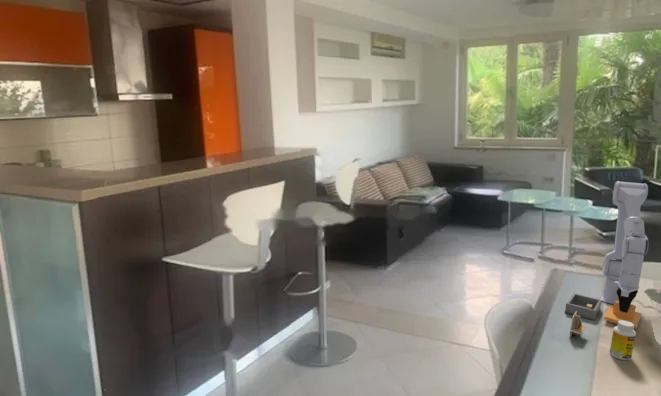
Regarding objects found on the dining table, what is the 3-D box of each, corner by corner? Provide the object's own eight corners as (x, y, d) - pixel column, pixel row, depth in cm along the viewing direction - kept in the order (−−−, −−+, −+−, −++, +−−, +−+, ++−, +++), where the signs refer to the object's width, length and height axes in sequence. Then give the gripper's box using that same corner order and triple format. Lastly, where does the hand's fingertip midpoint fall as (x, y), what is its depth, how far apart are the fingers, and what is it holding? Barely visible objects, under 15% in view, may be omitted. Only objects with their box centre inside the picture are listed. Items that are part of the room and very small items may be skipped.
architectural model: (584, 336, 156) (588, 314, 155) (580, 344, 151) (584, 321, 149) (572, 332, 158) (576, 311, 157) (568, 340, 153) (571, 318, 151)
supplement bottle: (625, 363, 140) (631, 329, 138) (605, 354, 145) (611, 321, 143) (635, 357, 143) (641, 324, 141) (615, 349, 148) (621, 317, 146)
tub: (572, 302, 181) (573, 293, 181) (600, 309, 176) (601, 300, 175) (564, 312, 172) (566, 303, 171) (593, 320, 167) (595, 310, 166)
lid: (609, 309, 175) (612, 294, 174) (640, 318, 170) (643, 302, 168) (603, 321, 165) (606, 305, 164) (635, 331, 160) (639, 314, 158)
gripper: (619, 263, 172) (613, 300, 175) (613, 274, 160) (606, 314, 163) (643, 268, 168) (637, 306, 171) (638, 280, 156) (631, 320, 159)
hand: (623, 310), depth 167 cm, fingers closed on lid
